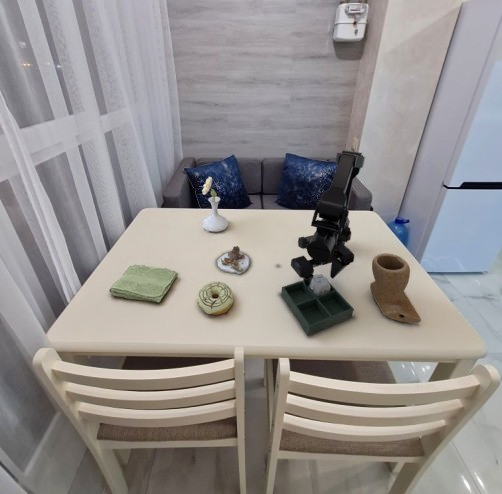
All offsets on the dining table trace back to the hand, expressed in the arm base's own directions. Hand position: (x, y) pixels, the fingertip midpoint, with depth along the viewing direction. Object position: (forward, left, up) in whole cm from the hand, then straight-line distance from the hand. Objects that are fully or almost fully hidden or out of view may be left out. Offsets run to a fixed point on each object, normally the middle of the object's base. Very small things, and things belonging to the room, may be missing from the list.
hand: (319, 281), depth 80 cm
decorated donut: (+30, -9, -5) cm, 32 cm away
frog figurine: (+19, -24, -5) cm, 31 cm away
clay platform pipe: (-18, +11, -5) cm, 21 cm away
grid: (+3, +4, -5) cm, 7 cm away
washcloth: (+49, -24, -5) cm, 55 cm away
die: (0, 0, -5) cm, 5 cm away
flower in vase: (+19, -48, -5) cm, 52 cm away
